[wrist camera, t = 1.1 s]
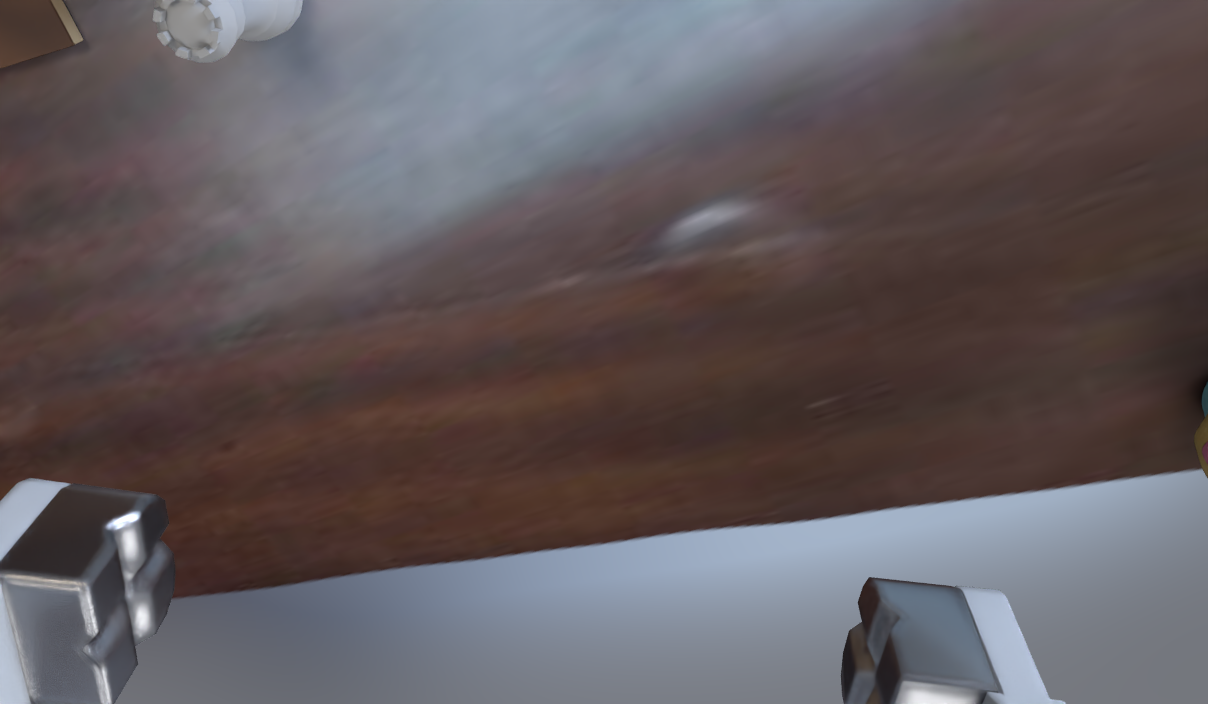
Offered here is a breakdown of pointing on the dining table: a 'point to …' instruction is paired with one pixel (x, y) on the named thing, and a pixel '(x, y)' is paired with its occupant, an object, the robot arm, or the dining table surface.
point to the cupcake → (1203, 434)
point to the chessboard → (34, 29)
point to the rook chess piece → (220, 24)
